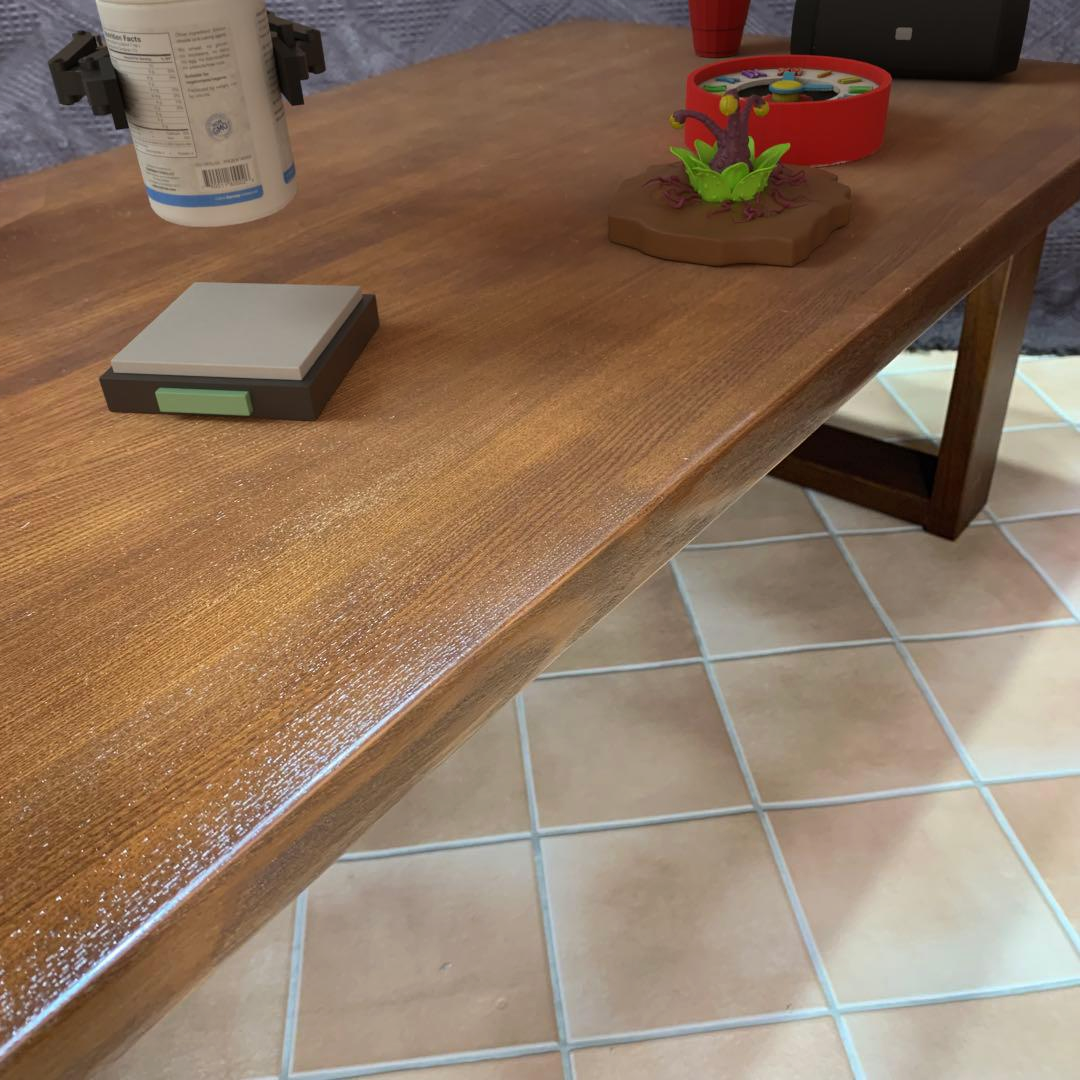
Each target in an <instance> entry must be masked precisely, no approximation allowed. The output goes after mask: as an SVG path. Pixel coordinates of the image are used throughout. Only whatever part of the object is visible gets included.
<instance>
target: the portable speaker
mask: <svg viewBox="0 0 1080 1080" xmlns="http://www.w3.org/2000/svg"><path fill="white" fill-rule="evenodd" d="M1030 6H1031V0H795V3H794V8H793V15H792V21H791V31H790V46H789V55H813V56H828V57H837V58H844V59H850V60H856V61H860V62H865V63H868V64H871V65H874V66H877V67H879V68H881V69H883V70H885V71H887V72H888V73H889V74H890V76H891V78H895V79H896V78H897V79H926V80H928V79H929V80H933V79H934V80H954V81H955V80H956V81H957V80H959V81H962V80H963V81H990V80H992V79H994V78H998V77H1000V76H1003V75H1006V74H1010V73H1014V72H1016V71H1017V69H1018V66H1019V61H1020V58H1021V53H1022V49H1023V44H1024V40H1025V34H1026V29H1027V23H1028V17H1029V12H1030Z"/></svg>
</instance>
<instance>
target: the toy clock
mask: <svg viewBox="0 0 1080 1080" xmlns="http://www.w3.org/2000/svg"><path fill="white" fill-rule="evenodd" d="M892 81H893V77H891V76H890V74H889V73H888V72H887V71H885V70H883V69H881V68H879V67H877V66H874V65H871V64H868V63H865V62H860V61H856V60H850V59H844V58H837V57H828V56H813V55H790V54H772V55H771V54H770V55H757V56H745V57H738V58H732V59H726V60H722V61H717V62H713V63H709V64H706V65H704V66H701V67H698V68H697V69H695V70H693V71H692V72H690V73H689V74H688V75H687V77H686V84H685V85H686V87H685V110H695V111H698V112H702V113H703V114H706V115H708V117H710V118H711V119H712V120H714V121H715V123H716V124H717V125H718V126H719V127H720V128H722V129H723V130H724V131H725V128H726V126H728V117H729V115H728V116H726V115H724V114H723V113H722V112H721V111H720V100H721V98H722V97H723V96H724V94H725V93H726V92H727V91H728V90H730V89H734V88H736V89H737V93H738V96H739V97H740V99H739V104H740V106H741V109H740V112H739V113H740V115H741V111H742V110H743V108H744V104H746V101H747V100H748V99H749V97H750V96H752V95H753V94H754V95H757V96H760V97H761V98H763V99H764V100H765V101H767V103H768V104H769V112H768V113H767V115H765V116H764V117H760V116H757V115H756V113H755V111H754V104H752V107H751V108H752V109H751V111H750V115H749V123H748V136H751V137H752V139H753V141H754V157H756V158H758V157H759V156H760V155H761V154H762V153H763V152H765V151H766V150H768V149H769V148H771V147H773V146H776V145H780V144H786V143H790V148H789V149H788V150H787V151H786V152H785V153H784V154H783V155H782V156H781V157H780V159H779V160H780V161H781V163H784V164H790V165H799V166H808V167H813V168H820V167H829V166H836V165H841V164H846V162H847V163H850V162H855V161H857V160H861V159H864V158H865V157H868V156H870V155H873V154H874V153H876V152H877V151H879V150H880V149H881V147H882V146H883V145H884V141H885V133H886V126H887V120H888V119H887V118H888V111H889V103H890V97H891V89H892ZM696 139H698V140H701V141H703V142H704V143H706V144H708V145H710V146H711V147H712V148H713V147H714V145H715V142H716V138H715V137H714V135H713V133H712V132H711V131H710V130H709V129H708V128H707V127H706V126H705V125H704V124H703V123H702V122H701V121H699V120H697V119H695V118H692V117H687V118H686V121H685V124H684V143H685V145H686V147H687V148H688V149H690V151H692V152H694V153H696V154H697V155H698V152H697V150H696V148H695V145H694V142H695V140H696ZM840 163H841V164H840ZM835 164H836V165H835Z"/></svg>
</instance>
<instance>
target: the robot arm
mask: <svg viewBox="0 0 1080 1080" xmlns="http://www.w3.org/2000/svg"><path fill="white" fill-rule="evenodd" d="M266 12H267V17H268V23H269V28H270V34H271V40H272V45H273V51H274V56H275V62H276V67H277V73H278V78H279V84H280V89H281V94H282V96H283V97H284V98H285V99H286V101H287V102H288V103H289V105H290V106H291V107H296V106H304V105H305V100H304V99H305V98H304V93H303V85H302V81H307V80H309V79H310V74H313V75H320V74H322V73H323V74H324V73H325V72H326V71H327V67H326V60H325V54H324V46H323V40H322V33H321V30H320V29H317V28H315V27H311V26H308V25H304V24H302V23H297V22H295V21H291V20H289V19H285V18H282V17H279V16H276V14H275V12H274V11H269V9H266ZM71 37H72V40H71V41H70V42H69V43H68V44H67V45H65V46H64V47H63V48H62V49H61V50H59V51H58V52H57V53H56V54H55V55H53V56H52V57H51V58H50V59H48V60H47V67H48V69H49V73H50V76H51V80H52V83H53V87H54V91H55V93H56V96H57V100H58V104H60V105H62V106H69V107H70V106H73V105H75V104H77V103H79V102H80V101H81V100H82V99H83V98H84V97H85V96H86V100H87V103H88V106H90V108H91V111H92V115H93V116H95V117H96V116H97V117H101V116H102V117H103V116H107V115H111V117H112V121H113V125H114V129H115V131H120V130H128V129H130V128H129V124H128V120H127V117H126V113H125V109H124V106H123V102H122V98H121V94H120V90H119V86H118V82H117V79H116V75H115V71H114V67H113V64H112V61H111V58H110V54H109V50H108V47H107V43H106V40H105V41H103V40H102V36H101V34H100V33H97V32H96V33H91V32H90V31H88V30H87V31H86V30H84V29H79V30H76V31H75V32H73V33H71Z"/></svg>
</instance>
